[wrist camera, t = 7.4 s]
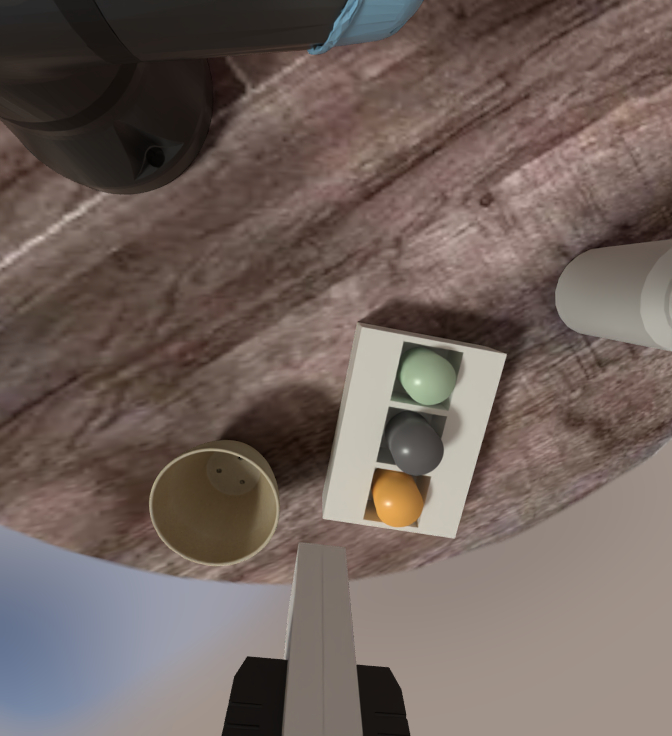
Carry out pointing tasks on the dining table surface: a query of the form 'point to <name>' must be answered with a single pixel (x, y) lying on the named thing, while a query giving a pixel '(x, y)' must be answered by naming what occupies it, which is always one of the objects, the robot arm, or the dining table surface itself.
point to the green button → (426, 375)
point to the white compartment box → (388, 397)
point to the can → (620, 293)
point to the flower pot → (216, 503)
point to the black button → (413, 443)
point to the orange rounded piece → (396, 497)
